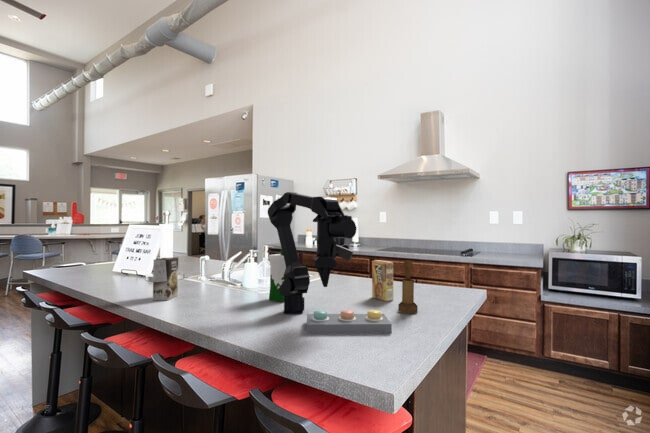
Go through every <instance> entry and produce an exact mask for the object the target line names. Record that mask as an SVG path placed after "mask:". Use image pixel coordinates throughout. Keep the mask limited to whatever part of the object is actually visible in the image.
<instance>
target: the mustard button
mask: <svg viewBox="0 0 650 433" xmlns="http://www.w3.org/2000/svg"><path fill="white" fill-rule="evenodd" d="M366 314H367V317H368V318H370V319H380V318H381V314H382V311H380V310H378V309H377V310H376V309H369V310H367V312H366Z"/></svg>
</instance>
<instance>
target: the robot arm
mask: <svg viewBox="0 0 650 433" xmlns="http://www.w3.org/2000/svg"><path fill="white" fill-rule="evenodd" d="M297 206H299V207H303V208H306V209H309V210H311V212H312V213H314V214H316V217H314V218H313V219H312V222H313V223H317V224H316V225H317V226H316V236H317V237H316V258H315V260H314V268H316V270H317V273H318V275H319V277H320V281H321V283H322V287H324V288H327V287H328V285H329V280H330V275H331V271H332V270H333V269H335V268H337V259H336V258H337V257H339V258H342V259H344V260H346V261H348V262H351V260H352V257H353V255H354V251H353V250H352V249H350V245H348V244H345V243H344V244H343V245H342V246H341V245H339V244H337V240H336V239H337V238H338V239H352V238H354V237H355V236H356V233H357V228H358V227H357V225H356V223H355V221H354V219H352V217H353V216H352V215H351V214H350V215H346V214H345V213H344V211H343V210H342V207H341V205H340V204H339V201H338V199H337V197H330V196H310V195H306V194H305V195H304V194H301V193H298V192H291V191H286V192H285V193H283V195H282V196H280V197H279V198H277V199H275V200H273V202H272V203H271V205H270V206H268V208H267V217H268V218H269V221H270V223H271V225H273V227H274V228H275V229H276V230H277V236H278V239H279V244H280V247H281V250H282V252H283V256H284V260H285V264H286V269H285V272H284V282H283V283H282V285H281V286H280V288H279V292H280V294H281V295H284V302H283V314H285V315H286V314H289V315H292V314H293V315H294V314H296V315H297V314H299V315H300V314H301V315H302V314H303V312H304V311H305V297H304V294H307V293H308V292H309V291H308V290H309V287H310V284H311V280H310V278H311V276H310V274H309V268H308V267H307V266H306V265H305V266H303V265H302V264H301V262H300V258H299V254H298V250H297V247H296V242H295V238H294V235H293V231H292V230H293V229H292V227H291V224H292V222H293V217H294V216H293V214H294V213H295V211H296V209H297Z"/></svg>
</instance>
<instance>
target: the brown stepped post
mask: <svg viewBox="0 0 650 433" xmlns="http://www.w3.org/2000/svg"><path fill="white" fill-rule="evenodd" d="M403 266H404V269H405V272H404V277H405V278H403V279H402V278H401V279H402V283H401V284H402V287H401V289H402V291H401V292H402V293H401V294H402V295H401V298H402V299H401V302H400V303H398V307H397V308H398V309H397V310H398V312H399V313H402V314H408V315H410V314H411V315H412V314H413V315H414V314H417V313H418V305H417V304H416V303H415V301H414V294H415V292H414V291H415V290H414V288H415V286H414V285H415V281H414V279H412V278H411V276H412V272H411V269H412V268H413V262H412V260H411V259H406V260H404V262H403Z"/></svg>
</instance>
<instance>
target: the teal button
mask: <svg viewBox="0 0 650 433" xmlns="http://www.w3.org/2000/svg"><path fill="white" fill-rule="evenodd" d="M313 314H314V318H315V319H326V318H327V314H328V311H327V310H320V309H319V310H314V311H313Z"/></svg>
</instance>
